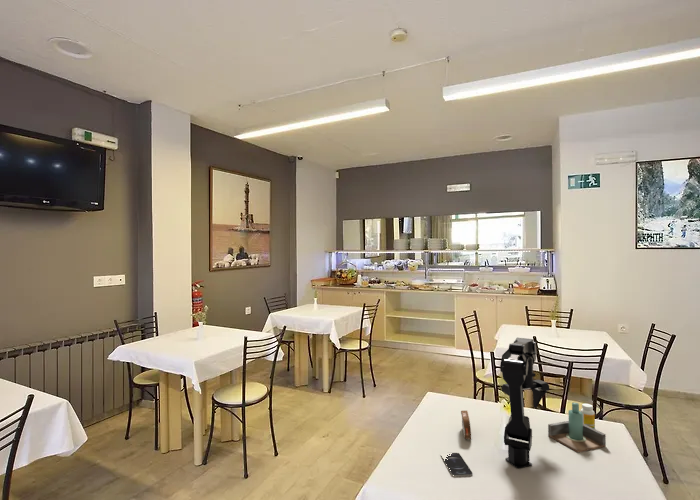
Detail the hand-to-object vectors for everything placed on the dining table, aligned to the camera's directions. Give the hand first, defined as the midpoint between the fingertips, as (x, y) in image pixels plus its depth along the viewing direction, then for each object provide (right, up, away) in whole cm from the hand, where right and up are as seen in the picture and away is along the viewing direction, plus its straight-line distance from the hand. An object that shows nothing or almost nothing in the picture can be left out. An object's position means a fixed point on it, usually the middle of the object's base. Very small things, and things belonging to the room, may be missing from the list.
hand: (525, 408), depth 155 cm
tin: (-22, -14, +7) cm, 27 cm away
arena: (+20, -13, 0) cm, 24 cm away
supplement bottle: (+32, -13, +12) cm, 37 cm away
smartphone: (-33, -14, -16) cm, 39 cm away
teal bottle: (+21, -12, +1) cm, 24 cm away
